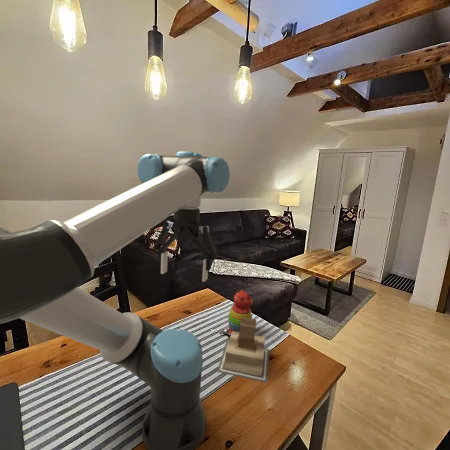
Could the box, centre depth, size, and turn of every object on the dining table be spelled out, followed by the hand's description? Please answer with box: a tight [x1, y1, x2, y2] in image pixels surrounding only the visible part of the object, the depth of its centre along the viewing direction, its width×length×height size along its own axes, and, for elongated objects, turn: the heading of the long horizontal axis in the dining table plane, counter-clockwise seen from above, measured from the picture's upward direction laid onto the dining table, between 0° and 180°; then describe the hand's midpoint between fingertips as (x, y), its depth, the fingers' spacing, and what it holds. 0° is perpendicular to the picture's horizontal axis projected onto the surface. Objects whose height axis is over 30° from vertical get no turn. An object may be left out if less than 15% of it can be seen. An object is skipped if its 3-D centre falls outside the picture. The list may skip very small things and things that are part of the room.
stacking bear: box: [227, 289, 254, 334], centre depth 101 cm, size 11×10×18 cm
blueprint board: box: [216, 340, 270, 383], centre depth 87 cm, size 16×16×1 cm
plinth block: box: [224, 331, 266, 376], centre depth 87 cm, size 12×12×6 cm
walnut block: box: [238, 317, 257, 350], centre depth 85 cm, size 5×5×8 cm
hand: (183, 276), depth 78 cm, fingers open, 13 cm apart
